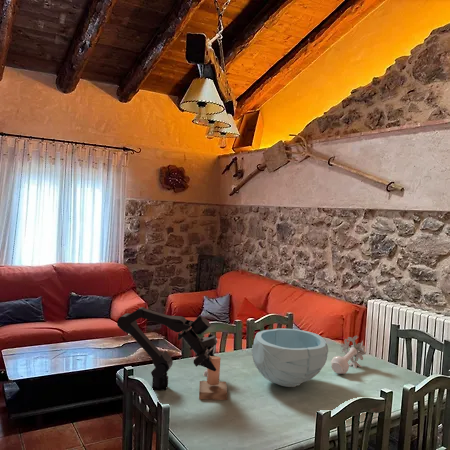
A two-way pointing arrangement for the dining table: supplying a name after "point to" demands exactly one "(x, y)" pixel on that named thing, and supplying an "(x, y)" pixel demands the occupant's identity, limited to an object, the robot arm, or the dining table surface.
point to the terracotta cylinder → (214, 375)
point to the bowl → (289, 355)
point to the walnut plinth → (213, 391)
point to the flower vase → (348, 356)
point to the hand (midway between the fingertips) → (216, 368)
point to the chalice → (214, 351)
